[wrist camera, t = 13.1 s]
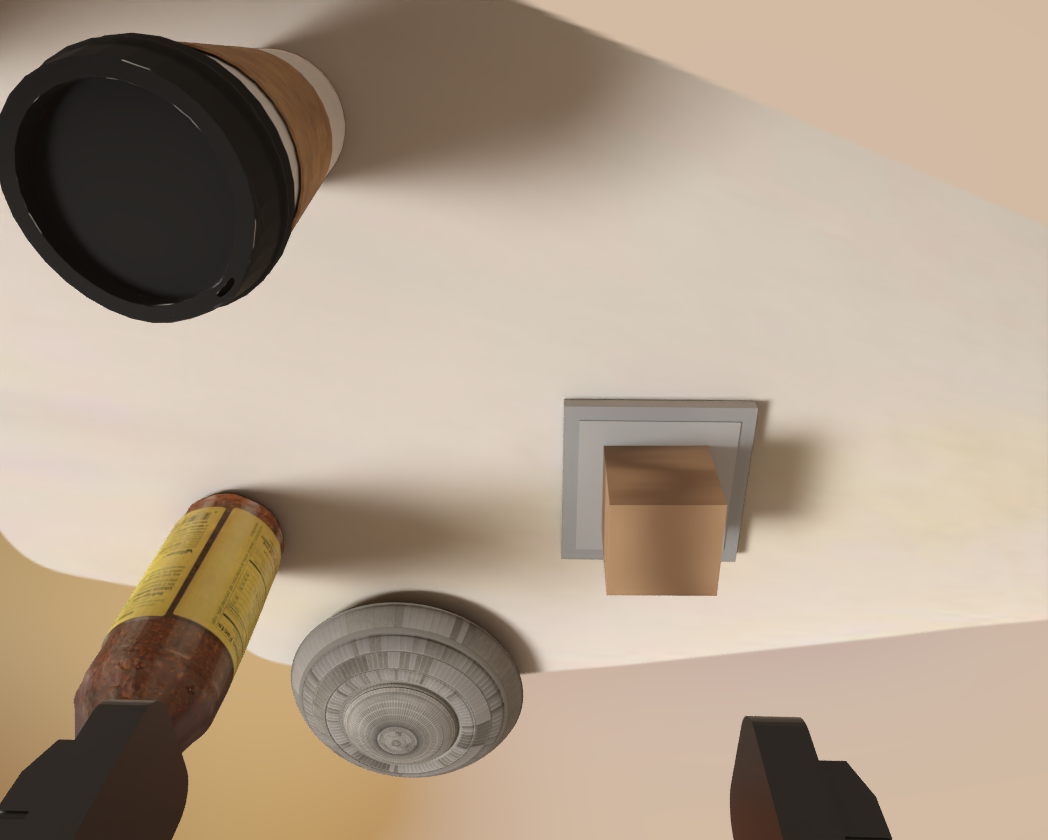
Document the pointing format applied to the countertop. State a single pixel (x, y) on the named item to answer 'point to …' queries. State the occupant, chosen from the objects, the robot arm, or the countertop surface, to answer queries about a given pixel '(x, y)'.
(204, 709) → the sauce bottle
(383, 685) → the flying saucer
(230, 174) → the coffee cup
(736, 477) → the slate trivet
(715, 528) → the walnut cube
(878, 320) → the countertop surface
